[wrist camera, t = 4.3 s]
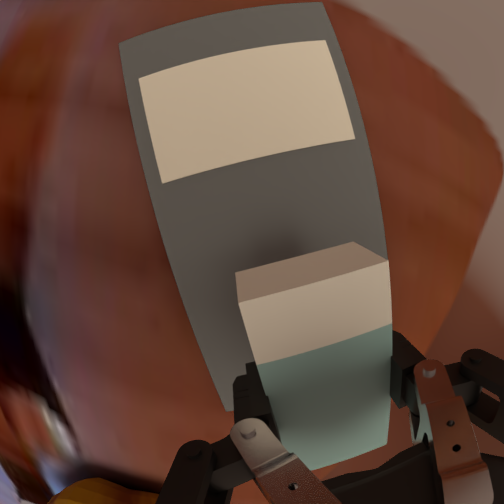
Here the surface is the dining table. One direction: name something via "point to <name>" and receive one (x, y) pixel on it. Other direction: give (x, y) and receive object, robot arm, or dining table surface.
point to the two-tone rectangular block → (323, 349)
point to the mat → (248, 157)
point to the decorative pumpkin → (101, 494)
